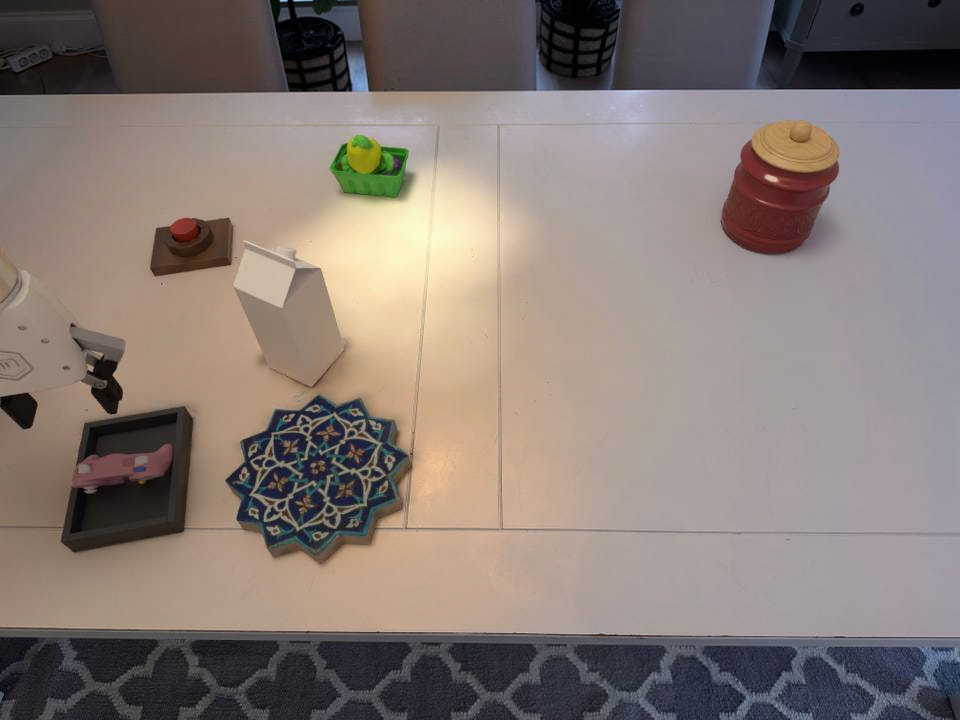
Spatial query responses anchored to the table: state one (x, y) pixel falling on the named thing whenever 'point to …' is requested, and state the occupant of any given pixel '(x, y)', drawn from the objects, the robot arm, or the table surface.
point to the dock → (131, 504)
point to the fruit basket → (369, 167)
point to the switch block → (192, 248)
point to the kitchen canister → (780, 186)
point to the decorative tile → (319, 477)
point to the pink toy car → (122, 468)
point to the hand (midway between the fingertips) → (73, 409)
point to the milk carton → (288, 312)
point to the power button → (185, 230)
